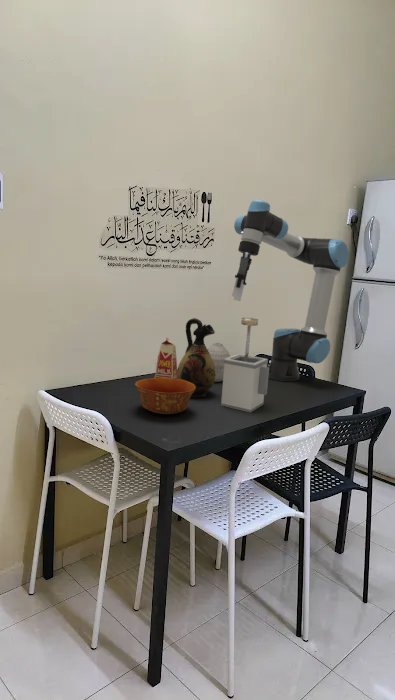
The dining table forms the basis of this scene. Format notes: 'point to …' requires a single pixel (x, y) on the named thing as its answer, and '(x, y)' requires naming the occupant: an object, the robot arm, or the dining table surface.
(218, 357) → the vase
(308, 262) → the robot arm
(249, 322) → the plunger
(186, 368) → the ceramic jug
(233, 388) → the box
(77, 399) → the dining table surface
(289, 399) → the dining table surface
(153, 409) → the bowl
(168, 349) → the milk carton
